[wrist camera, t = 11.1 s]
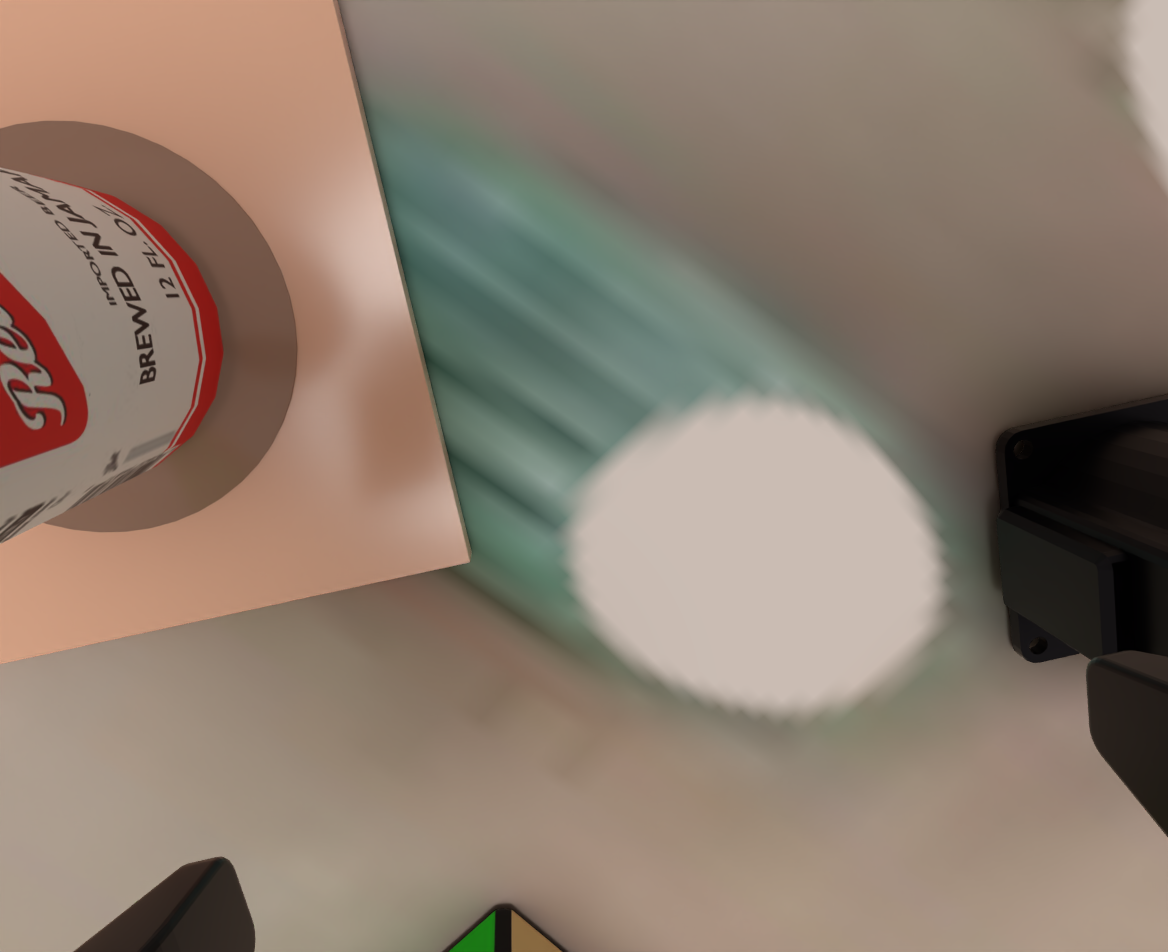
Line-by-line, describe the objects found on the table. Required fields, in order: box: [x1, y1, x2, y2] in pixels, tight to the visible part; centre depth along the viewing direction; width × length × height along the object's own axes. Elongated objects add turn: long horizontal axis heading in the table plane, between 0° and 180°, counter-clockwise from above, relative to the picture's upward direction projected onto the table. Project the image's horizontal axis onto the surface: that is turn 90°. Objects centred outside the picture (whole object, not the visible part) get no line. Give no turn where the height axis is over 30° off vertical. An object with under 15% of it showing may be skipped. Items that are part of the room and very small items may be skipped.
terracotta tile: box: [0, 0, 472, 664], centre depth 19 cm, size 14×14×1 cm
